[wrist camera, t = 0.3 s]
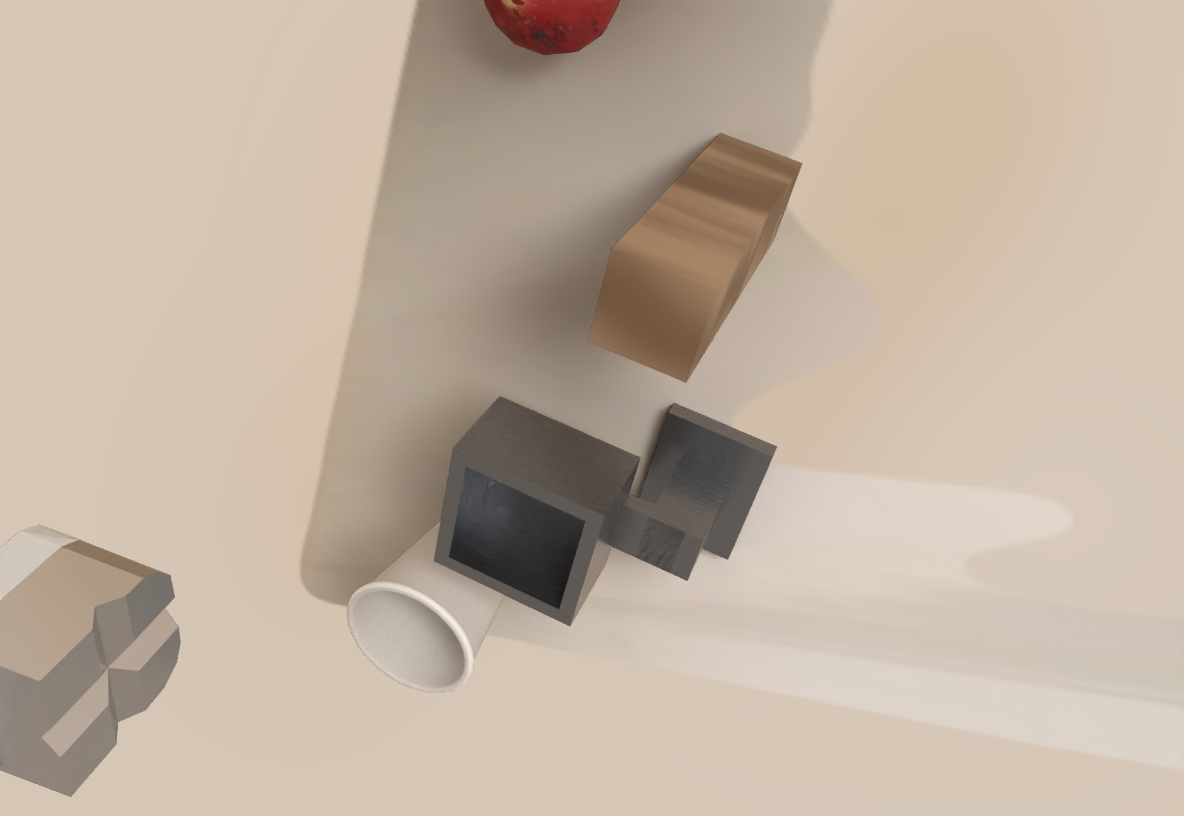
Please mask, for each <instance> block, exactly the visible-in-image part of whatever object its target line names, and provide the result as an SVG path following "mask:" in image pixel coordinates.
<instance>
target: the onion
mask: <svg viewBox="0 0 1184 816" xmlns="http://www.w3.org/2000/svg"><path fill="white" fill-rule="evenodd" d="M619 1H620V0H484V2H485V5H486V7H487V9H488V11H489V13H490V15H491V17H492V19H493V21H494V23H495V25H496V26H497V27H498V28H499V29H500V30H501V31H502V32H503V33H504V34H505V35H506V36H507V37H508V38H509V39H510V40H511V41H512V42H513V43H514V44H516V45H519V46H521V47H524V48H527V49H530V50H532V51H535V52H538V53H540V54H543V55H550V54H561V53H572V52H576V51H579V50H581V49H582V48H583V47H585V46H586V45H588V44H589V43H591V42H592V41H594V40H595V39H597V38H598V37H600V36H601V35H602V34H603V32H604V31H605V29H606V28H607V26H608V24H609V22H610V20H611V18H612V17H613V15H614V13H615V11H616V9H617V7H618V5H619Z"/></svg>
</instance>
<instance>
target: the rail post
mask: <svg viewBox="0 0 1184 816" xmlns="http://www.w3.org/2000/svg"><path fill="white" fill-rule="evenodd" d="M801 166H802V163H800V162H797V161H795V160H792V159H789V158H787V157H784V156H781V155H778V154H776V153H773V152H770V151H768V150H765V149H762V148H759V147H757V146H754V145H751V144H748V143H746V142H743V141H740V140H738V139H735V138H732V137H729V136H727V135H724V134H721V133H720V134H719V135H718V136H717V137H716V138H715V139H714V141H713V142H712V143H711V144H710V145H709V146H708V147H707V148H706V149H705V150H704V151H703V152H702V153H701V154H700V155H699V156H698V157H697V159H696V160H695V161H694V162H693V163H692V164H691V165H690V166H689V167H688V168H687V169H686V170H685V171H684V172H683V173H682V174H681V176H680V177H679V178H678V179H677V180H676V181H675V182H674V183H673V184H672V185H671V186H670V187H669V188H668V189H667V190H666V191H665V193H664V194H663V195H662V196H661V197H660V198H659V199H658V200H657V201H656V202H655V203H654V204H653V205H652V206H651V207H650V208H649V209H648V211H647V212H646V213H645V214H644V215H643V216H642V217H641V218H640V219H639V220H638V221H637V222H636V223H635V224H634V225H633V226H632V228H631V229H630V230H629V231H628V232H627V233H626V234H625V235H624V236H623V237H622V238H621V239H620V240H619V241H618V242H617V243H616V245H615V246H614V247H613V248H612V249H611V253H610V257H609V261H608V265H607V269H606V272H605V276H604V280H603V284H602V288H601V292H600V295H599V299H598V303H597V307H596V311H595V315H594V319H593V322H592V326H591V330H590V334H589V338H588V342H590V343H592V344H595V345H597V346H600V347H602V348H604V349H607V350H609V351H612V352H614V353H616V354H619V355H621V356H624V357H626V358H628V359H631V360H633V361H636V362H638V363H640V364H643V365H645V366H647V367H650V368H652V369H655V370H657V371H659V372H662V373H664V374H667V375H669V376H671V377H674V378H676V379H679V380H681V381H683V382H687V380H688V379H689V377H690V376H691V374H692V372H693V371H694V369H695V367H696V366H697V364H698V363H699V361H700V359H701V358H702V356H703V354H704V353H705V351H706V350H707V348H708V346H709V345H710V343H711V341H712V340H713V338H714V337H715V335H716V333H717V332H718V330H719V328H720V327H721V325H722V324H723V322H724V320H725V319H726V317H727V315H728V314H729V312H730V311H731V309H732V307H733V306H734V304H735V302H736V301H737V299H738V298H739V296H740V294H741V293H742V291H743V290H744V288H745V286H746V285H747V283H748V281H749V280H750V278H751V277H752V275H753V273H754V272H755V270H756V268H757V267H758V265H759V264H760V262H761V260H762V259H763V257H764V255H765V254H766V252H767V251H768V249H769V247H770V246H771V244H772V242H773V241H774V238H775V236H776V233H777V230H778V228H779V225H780V222H781V219H782V217H783V214H784V211H785V209H786V206H787V203H788V201H789V198H790V195H791V192H792V190H793V187H794V184H795V181H796V179H797V176H798V174H799V171H800V168H801Z"/></svg>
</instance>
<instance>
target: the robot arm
mask: <svg viewBox="0 0 1184 816" xmlns="http://www.w3.org/2000/svg"><path fill="white" fill-rule="evenodd" d="M174 598H175V596H174V591H173V586H172V581H171V576H170V575H169V574H166V573H163V572H161V571H158V570H156V569H153V568H151V567H148V566H145V565H143V564H140V563H138V562H135V561H133V560H130V559H127V558H125V557H122V556H120V555H117V554H115V553H112V552H109V551H107V550H104V549H102V548H99V547H96V546H94V545H91V544H89V543H86V542H84V541H82V540H79V539H77V538H74V537H71V536H68V535H66V534H63V533H61V532H58V531H55V530H52V529H49V528H47V527H44V526H42V525H37V526H34V527H31V528H28V529H26V530H22V531H20V532H19V533H17V534H16V535H15V536H14V537H12V538H11V539H10V540H9V541H8V542H6V543H5V544H4V545H3V546H1V547H0V770H1V771H4V772H6V773H9V774H12V775H14V776H17V777H20V778H22V779H25V780H28V781H30V782H33V783H35V784H38V785H41V786H43V787H46V788H49V789H51V790H54V791H56V792H59V793H62V794H64V795H67V796H70V797H71V796H72V795H73V794H74V793H75V791H76V790H77V789H78V788H79V787H80V786H81V784H82V783H83V782H84V781H85V780H86V779H87V778H88V776H89V775H90V774H91V773H92V772H93V771H94V769H95V768H96V767H97V766H98V765H99V764H100V763H101V761H102V760H103V759H104V758H105V757H106V755H107V754H108V753H109V752H110V751H111V750H112V749H113V748H114V746H115V745H116V743H117V729H118V722H119V721H121V720H124V719H126V718H129V717H131V716H133V715H135V714H138V713H140V712H143V711H145V710H146V709H147V708H148V707H149V706H150V704H151V703H152V702H153V701H154V699H155V698H156V697H157V696H158V695H159V693H160V692H161V691H162V690H163V689H164V687H165V685H166V683H167V681H168V679H169V677H170V675H171V673H172V671H173V669H174V667H175V665H176V663H177V659H178V653H179V648H180V634H179V626H178V625H177V624H176V622H175V621H174V620H173V618H172V617H171V616H170V614H169V613H168V612H167V610H166V609H165V607H166V606H167V605H168V604H169V603H170V602H171V601H172V600H173V599H174Z"/></svg>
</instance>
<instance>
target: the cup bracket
mask: <svg viewBox="0 0 1184 816" xmlns="http://www.w3.org/2000/svg"><path fill="white" fill-rule="evenodd" d="M776 448H777V446H774V445H772V444H769V443H767V442H765V441H763V440H760V439H758V438H756V437H753V436H751V435H748V434H746V433H743V432H741V431H739V430H737V429H734V428H732V427H730V426H727V425H725V424H722V423H720V422H718V421H715V420H713V419H711V418H708V417H706V416H704V415H701V414H699V413H696V412H694V411H692V410H689V409H687V408H685V407H682V406H680V405H678V404H675V403H674V404H673V406H672V408H671V409H670V411H669V412H668V415H667V418H666V421H665V424H664V427H663V430H662V433H661V436H660V439H659V442H658V445H657V448H656V451H655V454H654V457H653V460H652V463H651V466H650V469H649V472H648V474H647V477H646V480H645V483H644V486H643V489H642V492H641V495H640V498H638V497H636V496H634V495H631V494H629V492H630V489H631V486H632V483H633V480H634V476H635V473H636V470H637V467H638V464H639V461H640V457H638V456H636V455H633V454H631V453H629V452H626V451H624V450H622V449H620V448H617V447H615V446H613V445H610V444H608V443H606V442H604V441H601V440H599V439H597V438H594V437H592V436H590V435H588V434H585V433H583V432H581V431H578V430H576V429H574V428H572V427H569V426H567V425H565V424H562V423H560V422H558V421H556V420H553V419H551V418H549V417H546V416H544V415H542V414H539V413H537V412H535V411H533V410H530V409H528V408H526V407H523V406H521V405H519V404H517V403H514V402H512V401H510V400H507V399H505V398H503V397H501V396H499V397H498V399H497V400H496V401H495V402H494V403H493V404H492V405H491V406H490V407H489V409H488V410H487V411H486V412H485V413H484V414H483V415H482V416H481V417H480V419H479V420H478V421H477V422H476V423H475V424H474V425H473V426H472V427H471V429H470V430H469V431H468V432H467V433H466V434H465V435H464V436H463V437H462V439H461V440H460V441H459V442H458V443H457V444H456V445H455V446H454V447H453V452H452V458H451V463H450V469H449V475H448V481H447V487H446V492H445V498H444V504H443V510H442V515H441V521H440V527H439V533H438V538H437V544H436V550H435V556H434V562H436V563H438V564H440V565H442V566H445V567H447V568H449V569H451V570H453V571H455V572H457V573H459V574H461V575H463V576H466V577H468V578H470V579H472V580H474V581H476V582H478V583H480V584H482V585H484V586H486V587H489V588H491V589H493V590H495V591H497V592H499V593H501V594H503V595H505V596H507V597H510V598H512V599H514V600H516V601H518V602H520V603H522V604H524V605H526V606H528V607H531V608H533V609H535V610H537V611H539V612H541V613H543V614H545V615H547V616H549V617H551V618H554V619H556V620H558V621H560V622H562V623H564V624H566V625H568V626H571V624H572V622H573V621H574V619H575V617H576V615H577V614H578V612H579V610H580V608H581V607H582V605H583V603H584V601H585V600H586V598H587V596H588V595H589V593H590V591H591V589H592V588H593V586H594V584H595V582H596V581H597V579H598V577H599V575H600V574H601V572H602V570H603V568H604V567H605V565H606V562H607V559H608V556H609V553H610V550H611V547H614V548H617V549H619V550H621V551H623V552H625V553H627V554H630V555H632V556H634V557H636V558H638V559H641V560H643V561H645V562H647V563H649V564H652V565H654V566H656V567H658V568H660V569H662V570H665V571H667V572H669V573H671V574H673V575H676V576H678V577H680V578H682V579H684V580H687V581H688V579H689V576H690V574H691V572H692V570H693V568H694V566H695V564H696V561H697V559H698V557H699V555H700V553H701V551H702V548H703V549H705V550H707V551H710V552H712V553H714V554H716V555H719V556H721V557H723V558H725V559H727V560H728V558H729V556H730V554H731V552H732V549H733V547H734V545H735V542H736V540H737V538H738V535H739V533H740V531H741V529H742V526H743V524H744V522H745V519H746V517H747V515H748V513H749V510H750V508H751V506H752V503H753V501H754V499H755V496H756V494H757V492H758V490H759V487H760V485H761V483H762V480H763V478H764V476H765V473H766V471H767V469H768V467H769V464H770V462H771V460H772V457H773V455H774V453H775V450H776Z"/></svg>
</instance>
